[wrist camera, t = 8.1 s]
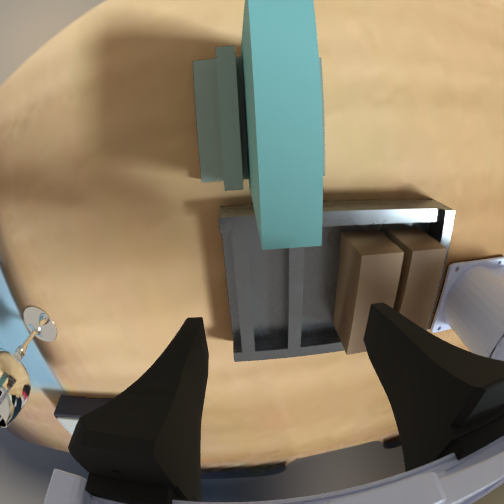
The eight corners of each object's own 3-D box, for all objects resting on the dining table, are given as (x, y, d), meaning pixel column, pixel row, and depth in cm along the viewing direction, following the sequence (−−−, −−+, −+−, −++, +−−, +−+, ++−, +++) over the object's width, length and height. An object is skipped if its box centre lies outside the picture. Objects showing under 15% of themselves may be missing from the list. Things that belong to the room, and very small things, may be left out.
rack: (433, 199, 21) (455, 210, 18) (410, 320, 26) (423, 338, 23) (220, 206, 20) (218, 220, 18) (234, 341, 25) (234, 366, 23)
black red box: (191, 464, 30) (94, 461, 30) (192, 438, 34) (99, 439, 34) (158, 421, 26) (50, 418, 25) (162, 391, 30) (60, 393, 29)
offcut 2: (418, 227, 21) (446, 248, 17) (401, 312, 24) (421, 339, 20) (386, 229, 21) (413, 251, 17) (372, 316, 24) (390, 346, 20)
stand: (316, 60, 17) (335, 47, 13) (320, 173, 20) (339, 185, 16) (194, 64, 16) (184, 50, 13) (203, 179, 20) (195, 193, 16)
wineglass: (34, 345, 25) (-13, 424, 14) (11, 301, 23) (-50, 378, 12) (71, 346, 25) (24, 437, 14) (47, 299, 23) (-18, 388, 12)
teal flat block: (273, 48, 15) (310, -17, 6) (280, 184, 19) (321, 245, 10) (241, 49, 15) (246, -19, 6) (249, 186, 19) (262, 250, 10)
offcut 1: (378, 229, 21) (404, 252, 17) (365, 318, 24) (382, 348, 20) (341, 231, 21) (362, 255, 17) (332, 322, 24) (346, 354, 20)
